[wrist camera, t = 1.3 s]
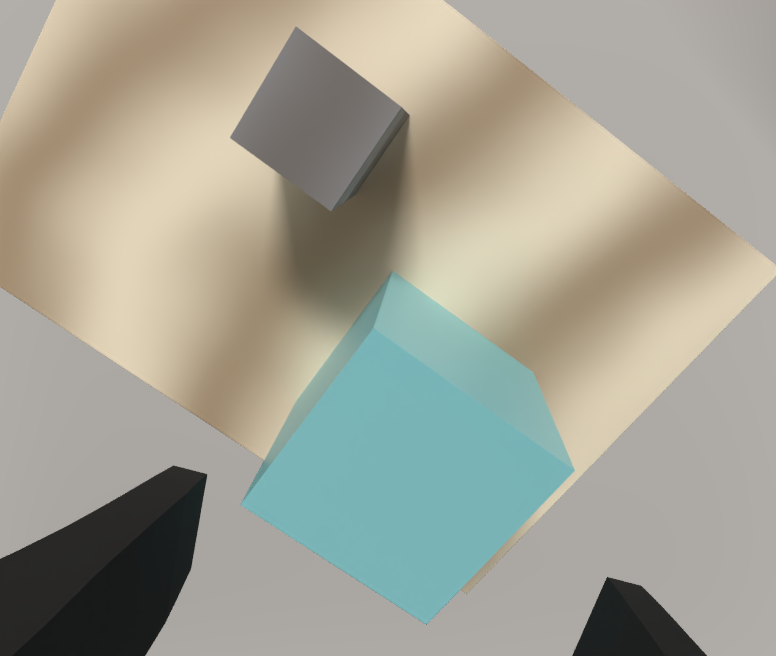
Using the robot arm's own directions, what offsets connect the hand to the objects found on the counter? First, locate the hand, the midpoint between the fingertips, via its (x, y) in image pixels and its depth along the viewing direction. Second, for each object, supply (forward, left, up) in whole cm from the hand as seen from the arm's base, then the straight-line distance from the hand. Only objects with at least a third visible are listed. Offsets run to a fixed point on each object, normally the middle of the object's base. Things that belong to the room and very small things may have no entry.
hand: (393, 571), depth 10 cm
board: (+4, -2, -9) cm, 10 cm away
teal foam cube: (0, 0, -8) cm, 8 cm away
